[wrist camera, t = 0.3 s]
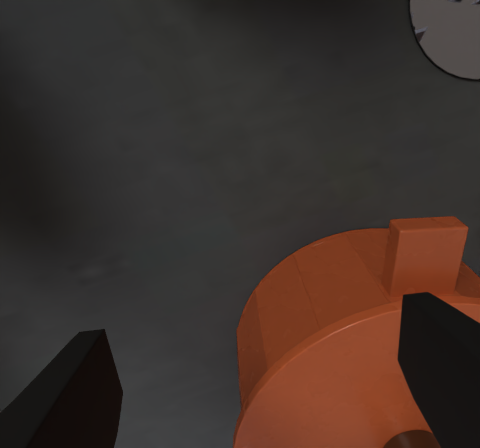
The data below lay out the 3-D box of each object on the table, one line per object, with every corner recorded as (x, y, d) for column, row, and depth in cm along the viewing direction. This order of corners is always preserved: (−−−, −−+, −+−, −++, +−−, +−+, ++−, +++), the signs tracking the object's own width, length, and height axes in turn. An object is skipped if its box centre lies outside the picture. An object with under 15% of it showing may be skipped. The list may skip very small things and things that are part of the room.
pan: (517, 168, 20) (645, 228, 14) (444, 443, 28) (506, 553, 22) (230, 181, 19) (238, 249, 13) (241, 458, 27) (248, 575, 21)
